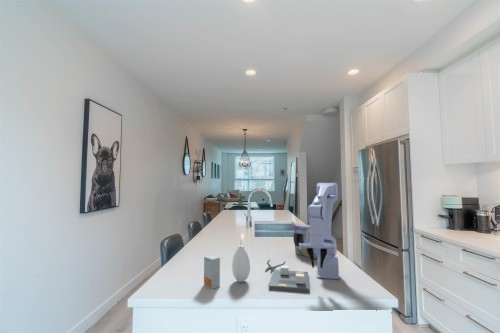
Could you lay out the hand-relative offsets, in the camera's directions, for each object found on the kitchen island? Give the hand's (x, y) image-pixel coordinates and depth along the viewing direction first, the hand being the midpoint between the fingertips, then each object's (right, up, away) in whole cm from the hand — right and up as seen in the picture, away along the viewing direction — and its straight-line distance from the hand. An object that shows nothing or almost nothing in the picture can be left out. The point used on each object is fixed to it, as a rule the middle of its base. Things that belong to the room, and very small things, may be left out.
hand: (317, 267), depth 106 cm
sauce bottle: (-32, -9, +7) cm, 34 cm away
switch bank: (-10, -9, +6) cm, 15 cm away
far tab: (-12, -7, +11) cm, 18 cm away
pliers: (-14, -11, +27) cm, 32 cm away
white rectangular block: (-7, -7, +1) cm, 10 cm away
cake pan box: (+6, -11, +45) cm, 47 cm away
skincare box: (-44, -9, +2) cm, 45 cm away
